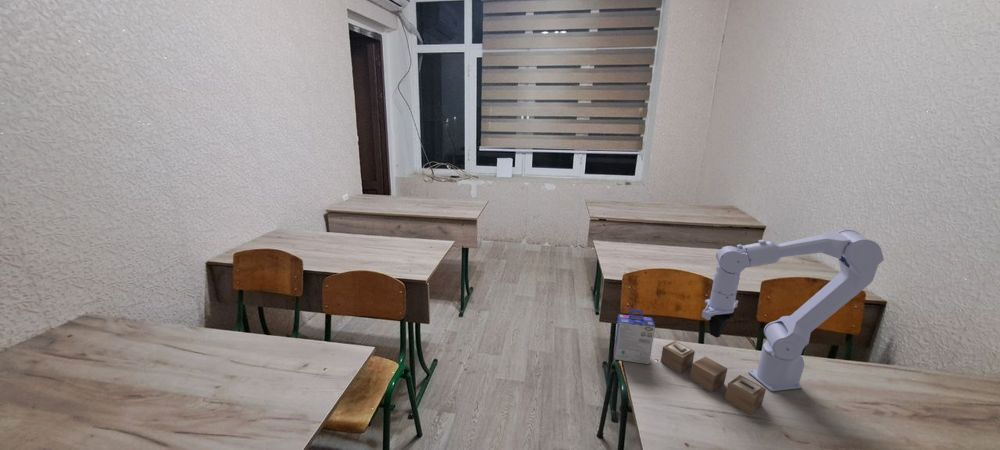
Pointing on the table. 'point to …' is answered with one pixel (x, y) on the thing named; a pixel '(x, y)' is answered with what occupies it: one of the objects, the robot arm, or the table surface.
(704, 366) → the plain block
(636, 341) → the ink cartridge box
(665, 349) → the numbered block seven
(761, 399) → the numbered block one
